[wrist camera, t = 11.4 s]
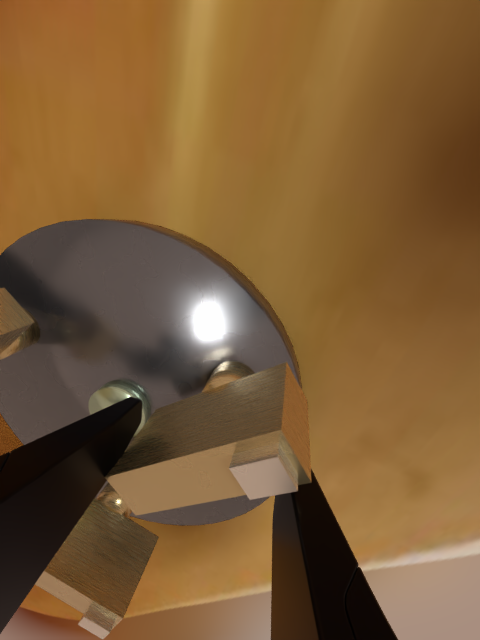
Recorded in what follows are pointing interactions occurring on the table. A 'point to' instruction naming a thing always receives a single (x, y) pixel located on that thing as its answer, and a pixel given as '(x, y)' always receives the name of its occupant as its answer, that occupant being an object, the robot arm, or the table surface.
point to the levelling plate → (129, 330)
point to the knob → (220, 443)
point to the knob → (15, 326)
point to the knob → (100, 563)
